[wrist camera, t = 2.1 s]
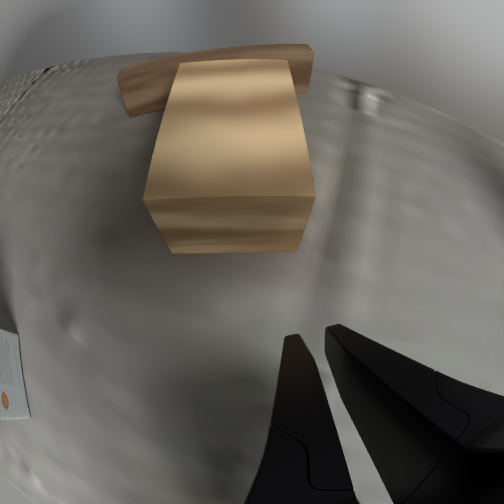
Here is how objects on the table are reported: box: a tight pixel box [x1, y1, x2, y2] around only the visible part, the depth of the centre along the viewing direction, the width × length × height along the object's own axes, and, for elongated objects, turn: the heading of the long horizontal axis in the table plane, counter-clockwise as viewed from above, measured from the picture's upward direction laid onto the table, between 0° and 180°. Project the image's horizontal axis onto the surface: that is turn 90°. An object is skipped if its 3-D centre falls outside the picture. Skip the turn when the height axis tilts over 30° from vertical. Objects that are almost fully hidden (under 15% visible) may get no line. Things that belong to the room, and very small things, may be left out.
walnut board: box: [117, 44, 314, 117], centre depth 29 cm, size 2×22×6 cm, turn 101°
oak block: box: [143, 59, 316, 254], centre depth 23 cm, size 16×10×8 cm, turn 1°
